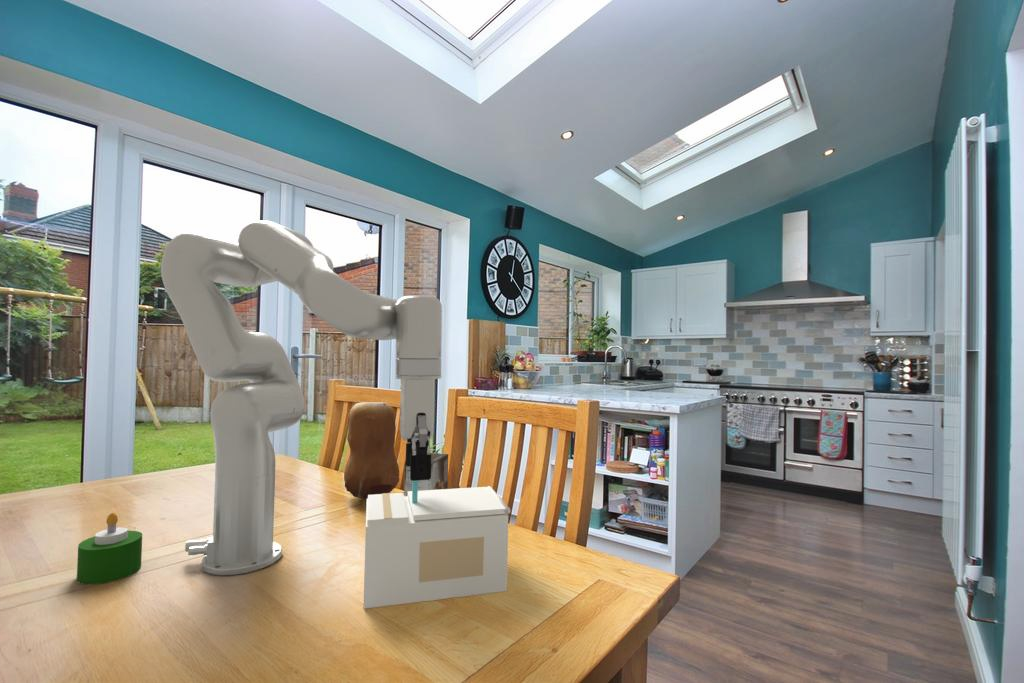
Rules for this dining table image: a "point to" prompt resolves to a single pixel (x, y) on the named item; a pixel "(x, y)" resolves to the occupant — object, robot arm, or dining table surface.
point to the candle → (109, 554)
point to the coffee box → (437, 475)
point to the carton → (430, 554)
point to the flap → (454, 502)
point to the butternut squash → (371, 450)
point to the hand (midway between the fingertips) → (417, 472)
